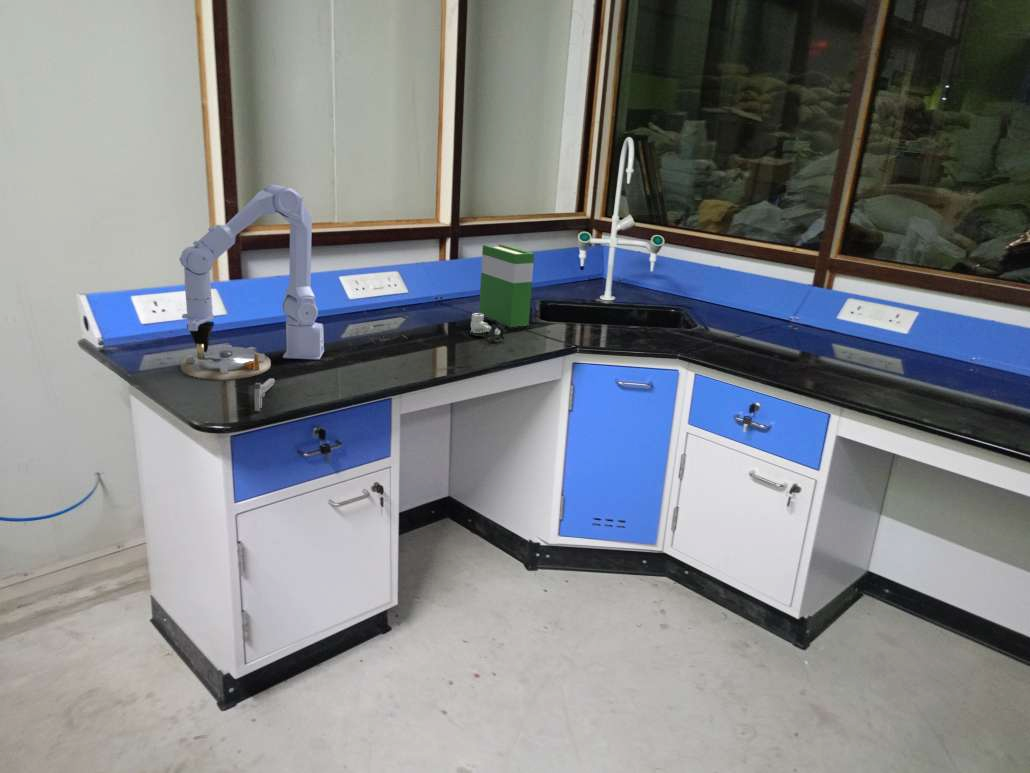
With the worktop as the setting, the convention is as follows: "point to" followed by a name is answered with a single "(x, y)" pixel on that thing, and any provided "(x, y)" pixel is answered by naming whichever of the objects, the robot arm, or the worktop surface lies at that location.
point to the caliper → (261, 392)
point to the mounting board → (233, 374)
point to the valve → (487, 327)
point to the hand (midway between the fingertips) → (202, 351)
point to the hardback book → (506, 284)
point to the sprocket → (224, 358)
